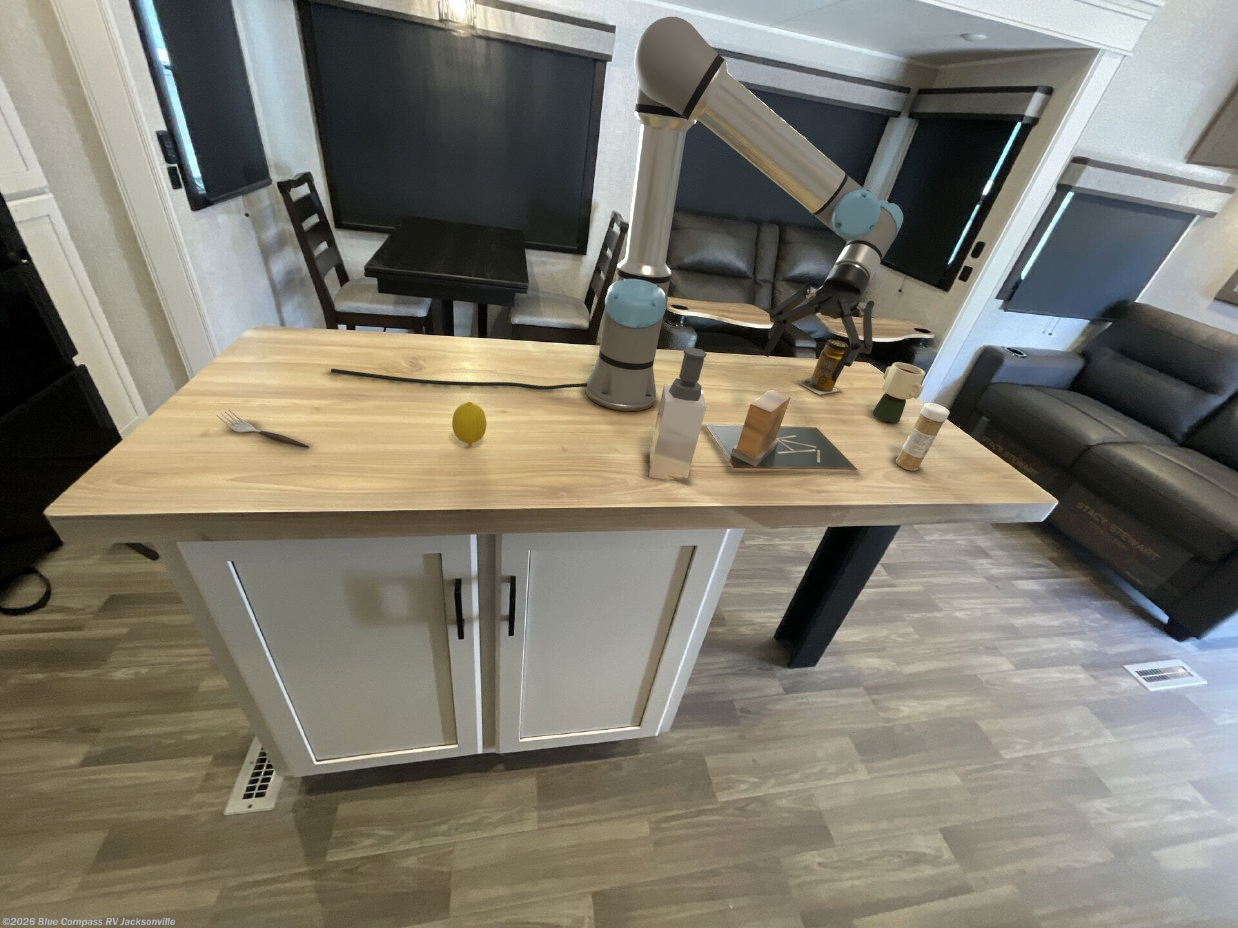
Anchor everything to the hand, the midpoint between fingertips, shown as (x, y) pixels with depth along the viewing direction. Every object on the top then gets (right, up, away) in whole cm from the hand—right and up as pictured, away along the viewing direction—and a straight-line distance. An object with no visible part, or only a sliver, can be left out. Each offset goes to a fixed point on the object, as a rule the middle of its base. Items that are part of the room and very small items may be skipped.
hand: (798, 365), depth 100 cm
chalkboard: (-3, -16, +5) cm, 17 cm away
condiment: (+17, +1, +37) cm, 41 cm away
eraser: (-8, -16, +1) cm, 18 cm away
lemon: (-60, -15, -9) cm, 62 cm away
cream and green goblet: (+29, -8, +26) cm, 40 cm away
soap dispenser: (-26, -19, -6) cm, 33 cm away
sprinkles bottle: (+25, -19, +8) cm, 32 cm away
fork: (-90, -15, -16) cm, 93 cm away
